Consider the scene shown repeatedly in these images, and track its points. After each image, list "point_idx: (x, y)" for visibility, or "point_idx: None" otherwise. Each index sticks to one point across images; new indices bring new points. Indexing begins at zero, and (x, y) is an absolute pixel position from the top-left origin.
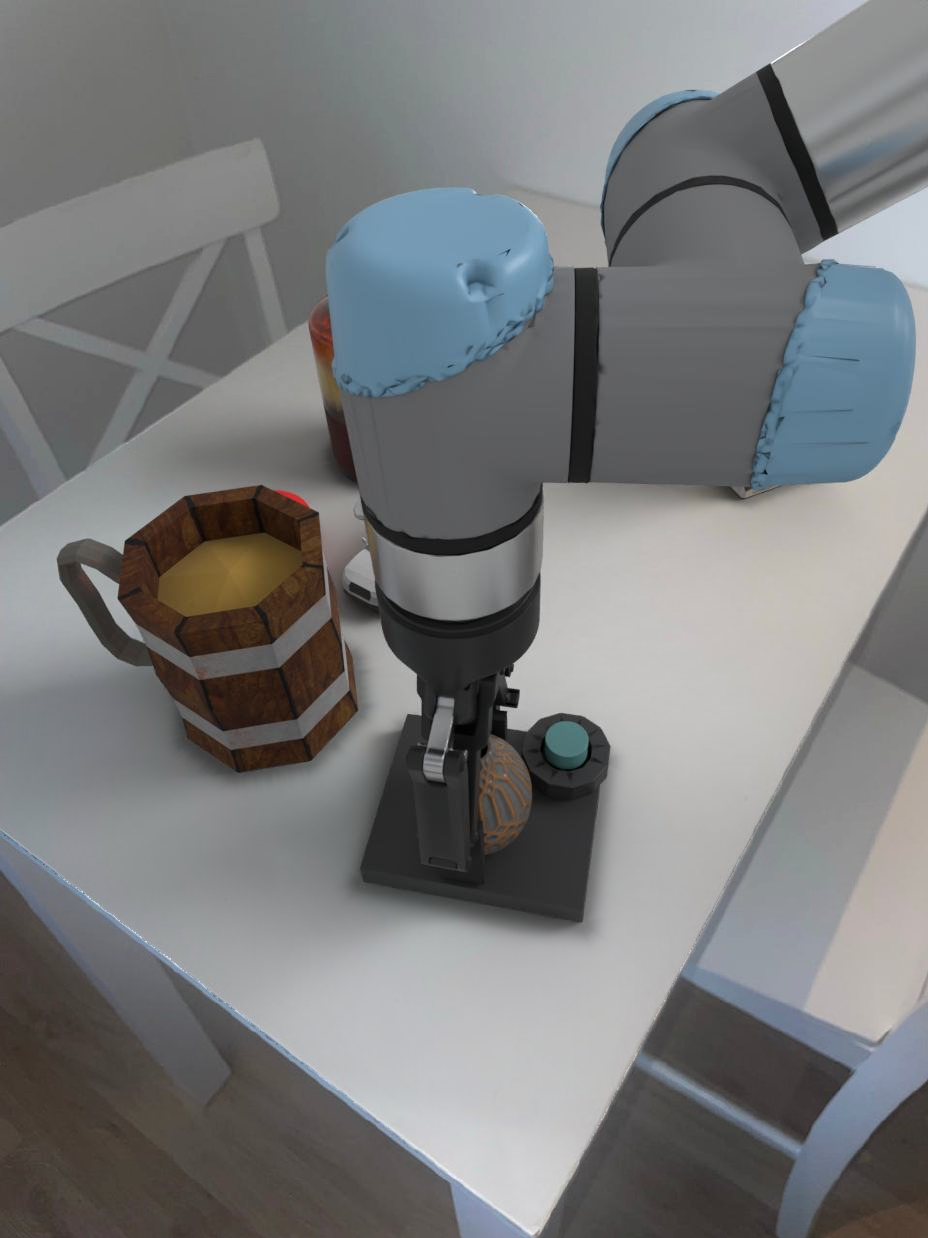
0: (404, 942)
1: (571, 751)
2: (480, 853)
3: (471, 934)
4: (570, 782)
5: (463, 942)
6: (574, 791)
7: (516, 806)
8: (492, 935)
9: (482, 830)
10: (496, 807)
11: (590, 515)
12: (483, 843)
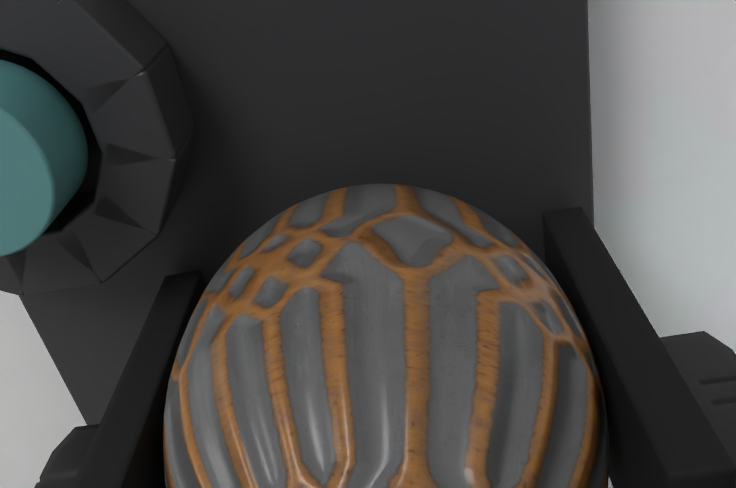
0: (709, 293)
1: (3, 141)
2: (657, 338)
3: (660, 158)
4: (125, 83)
5: (686, 168)
6: (144, 50)
7: (460, 323)
8: (652, 104)
9: (666, 431)
10: (540, 424)
11: None
12: (617, 346)
